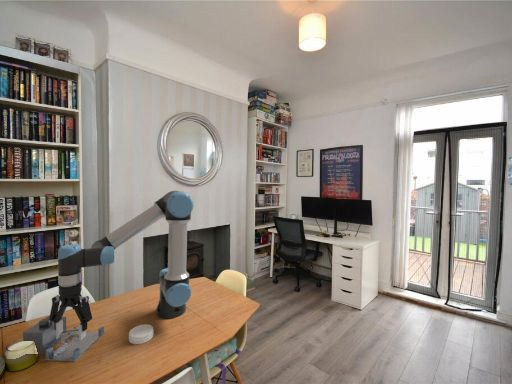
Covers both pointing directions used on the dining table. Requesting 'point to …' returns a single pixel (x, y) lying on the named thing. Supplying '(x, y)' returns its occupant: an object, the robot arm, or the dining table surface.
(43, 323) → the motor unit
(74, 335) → the stone
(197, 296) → the dining table surface
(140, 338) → the coaster
